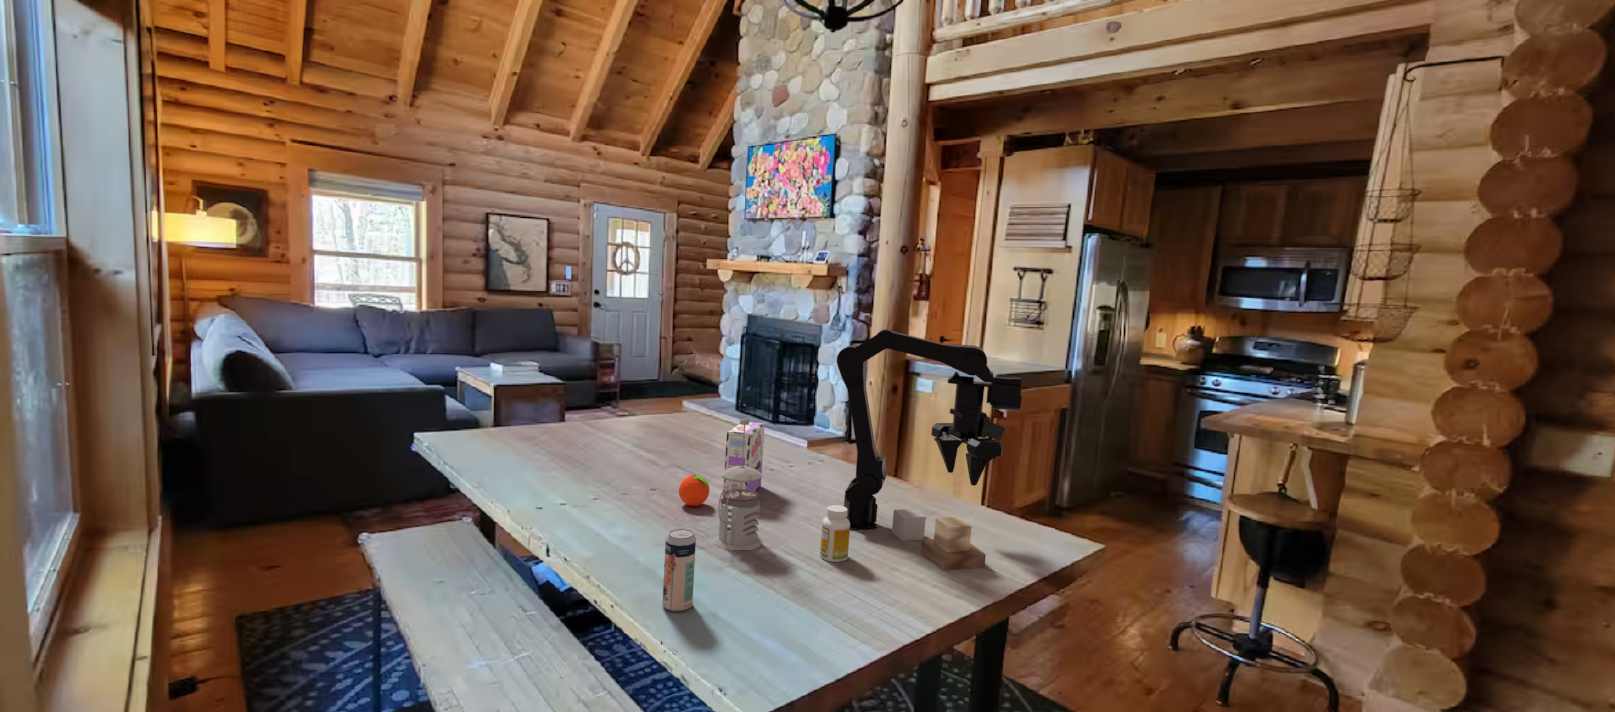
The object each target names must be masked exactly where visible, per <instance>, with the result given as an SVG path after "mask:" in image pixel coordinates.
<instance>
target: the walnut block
mask: <svg viewBox="0 0 1615 712" xmlns="http://www.w3.org/2000/svg"><path fill="white" fill-rule="evenodd" d="M920 544H921V545H920V552H921V554H923V555H924V556H925V557H926V558H928V559H929V560H930V561H931V562H932V563H933V564H935V565H936V566H937V567H938V568H939V569H941V570H942V571H954V570H965V569H966V570H967V569H979V568H985V567H986V553H985V552H984V551H982V550H980V549H979V548H978V547H976V546H975V545H973V544H972V543H970V548H969V551H958V552H945V551H944V550H943V549H942V548H940V547H939V546H938V545H936V544H935V543H934V538H930V539H928V538H927V539H922V540H921V543H920Z"/></svg>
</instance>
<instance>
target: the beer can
mask: <svg viewBox="0 0 1615 712" xmlns="http://www.w3.org/2000/svg"><path fill="white" fill-rule="evenodd" d="M664 540H665V546H664V547H665V548H664V565H663V568H664V569H663V589H662V606H663V608H665V609H667V610H668V611H670V612H675V613H676V612H684V611H686V610H688V609H690V608H691V607H692V606H693V604H694V600H693V599H694V583H695V582H694V581H695V565H696V564H695V563H696V548H697V547H696V545H697V543H696V542H697V537H696V535H695V532H694V531H692V530H691V529H688V528H687V529H686V528H676V529H675V528H673V530H669V532H668V534H667V536H665V539H664Z"/></svg>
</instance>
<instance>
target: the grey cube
mask: <svg viewBox="0 0 1615 712" xmlns="http://www.w3.org/2000/svg"><path fill="white" fill-rule="evenodd" d="M892 514H893V515H892V525H891V526H892V528H891V533H892V534H894V535H895V534H896V535H897V536H898V537H899V540H901V541H902V542H906V541H918V540H921V541H922V540H925V529H926V518H927V517H926V516H925V515H924V514H922V513H921V512H920V511H918V510H917V509H915V508H906V509H905V508H904V509H894V510H893V513H892ZM896 535H895V536H896ZM897 536H896V537H897ZM898 537H897V538H898Z"/></svg>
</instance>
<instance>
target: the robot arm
mask: <svg viewBox="0 0 1615 712" xmlns="http://www.w3.org/2000/svg"><path fill="white" fill-rule="evenodd" d="M884 350H892V351H896V352H901V353H904V354H907V355H911V356H912V355H913V356H916V357H918V358H919V357H920V358H924V359H928V360H931V361H936V362H940V363H942V364H944V365H947V366H948V367H950V368H952V369H954V370H956V371H955V372H954V373H953V375H951V376H950V377H949V378H948V379H947V383H948V384H951V385H956V386H955V394H954V395H955V398H954V406H953V407H954V408H949V414H951V415H953V418H952V419H953V420H952V422H935V423H934V425H932V427H931V437H934V438H933V439H934V441H935V442H936V444H937V447H938V450H939V452H940V454H941V457H942V460H943V462H944V464H945V469H946V470H947V473H949V474H950V473H951V474H952V473H953V472H954V469H955V465H956V460H957V455H958V449H959V447H960V446H961V445H962V444H965V445H966V451H967V453H965V458H966V465H967V472H968V478H969V482H970V485H971V486H977V485H978V482H979V481H980V478H981V476H982V474H983V472H984V469H985V468H986V466H987V465H988V464H989V462H990V461H992V460H995V459H997V458H998V457H1002V456H1003V449H1004V448H1003V445H1002V444H1001V441H1002V439H1003V436H1004V435H1005V431H1006V429H1007V428H1006V427H1004V426H1002V425H1000V424H997V423H994V422H992V421H991V417H990V416H988V415H987V413H986V412H985V411H983V405H984V394H985V388H987V389H986V399H985V400H986V404H989V405H990V406H991V407H990V408H991V409H992V410H993V409H994V410H1005V411H1011V412H1012V411H1014V412H1020V411H1021V406H1022V405H1021V404H1022V397H1023V396H1022V378H1020V377H1003V376H994V372H993V371H992V370H990V368H989V366H988V357H987V354H986V352H985V351H984V350H983V348H981V347H979V346H977V345H974V344H973V345H970V344H969V345H968V344H953V343H952V344H951V343H943V342H937V341H933V340H929V339H926V338H922V337H917V336H914V335H909V334H905V333H902V332H901V333H900V332H897V331H893V330H892V329H890V328H883V329H882V330H880V331H878V333H877V334H876V335H874V336H872V337H869V339H867V340H866V341H863V342H862V343H860V344H859V345H858V344H851V345H848V346H845V348H843V349H841V350H840V351H839V352H838V354H837V356H836V365H837V368H838V372H839V373H840V377H841V380H842V381H843V384H844V385H845V387H846V391H847V394H848V401H849V408H850V414H851V420H852V426H853V434H854V438H855V445H856V446H855V447H856V451H857V455H856V466H855V477H854V478H853V479H852V480H851V481H850V483H848V485H847V487H846V489H845V491H844V494H845V495H844V501H843V506H844V507H846V508H847V509H848V512H847V517H846V518H847V519H848V520H849V522H850V530H861V529H862V530H863V529H877V528H878V524H876V522H877V517H878V506H879V505H878V504H877V497H875V496H874V495H876V494H878V493H880V491H881V490H882V488H883V486H884V482H885V481H886V480H887V479H886V478H887V475H888V473H889V470H888V468H887V464H886V460H887V459H886V454H882V455H880V454H879V452H878V451H877V447H876V442H875V437H874V429H873V422H872V417H871V410H870V405H869V398H868V392H867V391H868V390H867V379H868V378H867V376H868V360H870V359H872V358H873V357H874V356H876V355H878V354H880V353H881V352H883V351H884ZM958 371H959V372H961V373H964V374H965V375H960V373H959V372H958ZM966 375H967V376H966ZM974 376H975V377H977V378H978V379H980V380H981V381H976V380H975V377H974Z"/></svg>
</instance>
